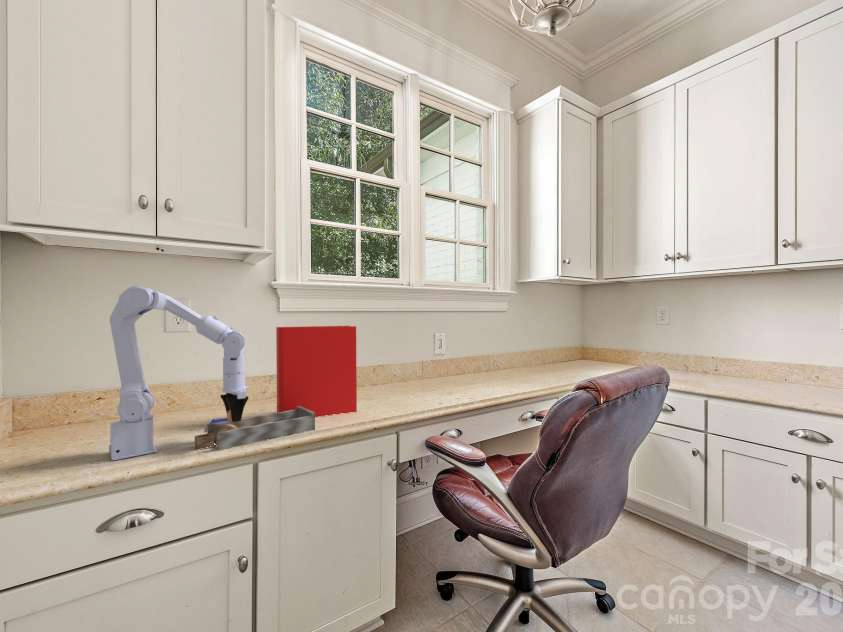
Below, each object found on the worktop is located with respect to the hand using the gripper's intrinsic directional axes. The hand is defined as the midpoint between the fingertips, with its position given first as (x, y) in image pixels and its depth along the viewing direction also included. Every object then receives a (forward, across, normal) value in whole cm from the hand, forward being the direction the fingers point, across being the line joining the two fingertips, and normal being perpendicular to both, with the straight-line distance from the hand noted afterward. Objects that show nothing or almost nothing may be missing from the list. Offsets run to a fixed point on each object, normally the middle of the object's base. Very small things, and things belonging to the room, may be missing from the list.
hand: (234, 419), depth 113 cm
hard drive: (+7, +19, -2) cm, 20 cm away
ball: (-1, 0, 0) cm, 1 cm away
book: (+6, +12, -32) cm, 34 cm away
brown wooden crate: (+6, 0, +8) cm, 10 cm away
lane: (+10, 0, -8) cm, 13 cm away
